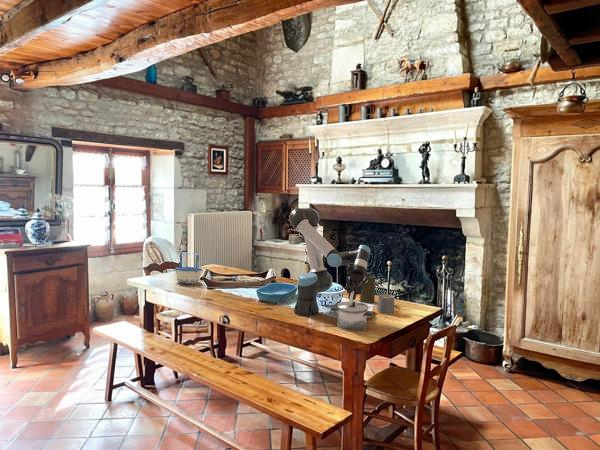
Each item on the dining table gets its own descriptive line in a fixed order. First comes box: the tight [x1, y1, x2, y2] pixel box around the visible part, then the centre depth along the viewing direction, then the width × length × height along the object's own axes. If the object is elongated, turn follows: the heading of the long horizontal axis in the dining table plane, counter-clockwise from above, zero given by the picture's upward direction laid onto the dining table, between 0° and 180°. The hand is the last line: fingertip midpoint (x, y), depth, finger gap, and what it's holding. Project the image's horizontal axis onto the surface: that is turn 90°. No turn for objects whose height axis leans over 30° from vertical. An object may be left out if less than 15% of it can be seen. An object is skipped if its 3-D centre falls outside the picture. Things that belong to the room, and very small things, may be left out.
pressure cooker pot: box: [330, 305, 375, 332], centre depth 231 cm, size 23×16×10 cm
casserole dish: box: [255, 282, 298, 303], centre depth 292 cm, size 37×22×7 cm, turn 158°
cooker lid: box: [336, 300, 369, 313], centre depth 231 cm, size 17×18×4 cm
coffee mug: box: [377, 293, 395, 315], centre depth 265 cm, size 13×10×10 cm
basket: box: [174, 251, 203, 285], centre depth 330 cm, size 21×16×24 cm
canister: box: [359, 271, 377, 304], centre depth 288 cm, size 11×10×20 cm
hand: (350, 303), depth 226 cm, fingers closed
